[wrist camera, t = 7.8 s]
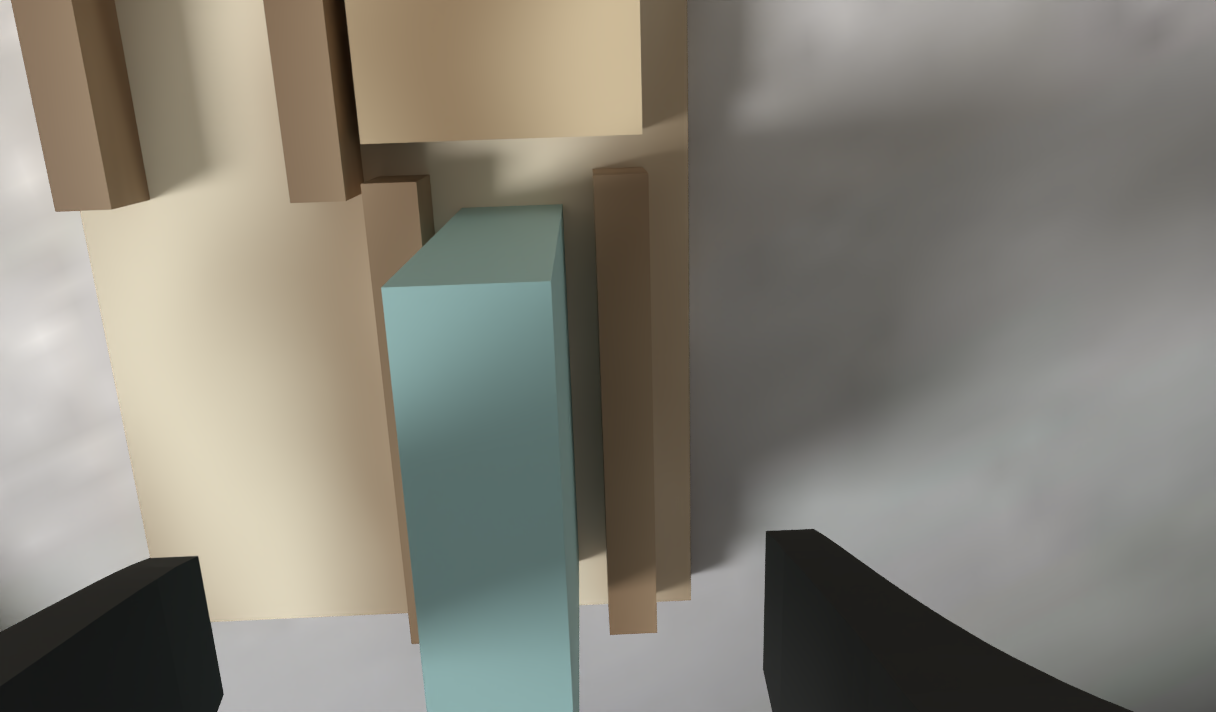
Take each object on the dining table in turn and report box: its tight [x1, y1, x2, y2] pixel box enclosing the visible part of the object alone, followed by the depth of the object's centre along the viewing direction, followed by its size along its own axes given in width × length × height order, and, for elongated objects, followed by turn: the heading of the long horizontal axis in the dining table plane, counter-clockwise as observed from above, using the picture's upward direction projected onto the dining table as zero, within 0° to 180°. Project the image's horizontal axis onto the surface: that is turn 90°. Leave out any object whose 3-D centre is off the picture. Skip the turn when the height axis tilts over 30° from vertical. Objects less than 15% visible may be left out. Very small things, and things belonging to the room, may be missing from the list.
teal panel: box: [381, 204, 579, 712], centre depth 15 cm, size 2×8×8 cm, turn 2°
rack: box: [11, 0, 691, 644], centre depth 17 cm, size 12×19×2 cm, turn 2°
